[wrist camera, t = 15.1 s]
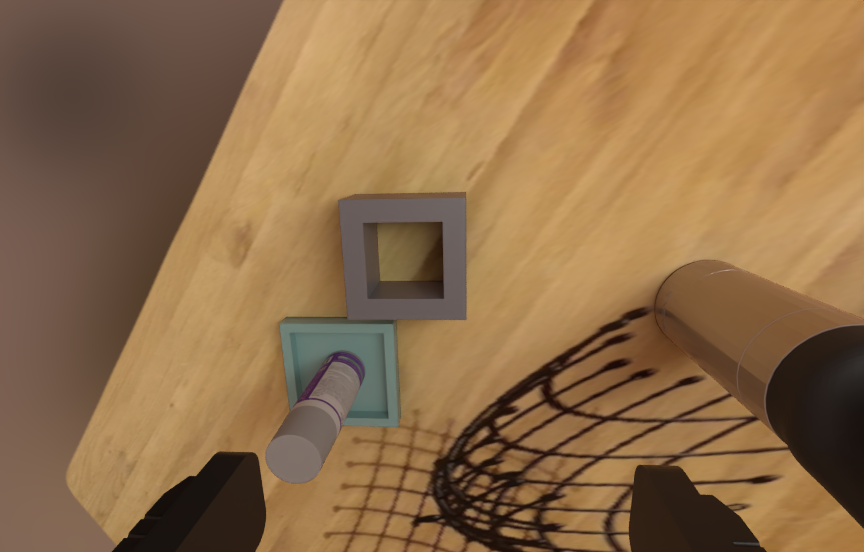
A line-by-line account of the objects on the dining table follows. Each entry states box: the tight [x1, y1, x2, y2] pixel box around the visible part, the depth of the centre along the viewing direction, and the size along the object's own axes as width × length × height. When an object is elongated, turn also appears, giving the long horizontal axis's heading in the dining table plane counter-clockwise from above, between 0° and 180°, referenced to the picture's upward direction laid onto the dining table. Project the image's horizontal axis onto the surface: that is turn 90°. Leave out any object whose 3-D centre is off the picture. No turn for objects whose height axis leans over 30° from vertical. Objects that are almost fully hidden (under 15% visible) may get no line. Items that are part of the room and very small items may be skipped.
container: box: [266, 350, 366, 484], centre depth 41 cm, size 5×5×15 cm
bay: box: [338, 192, 466, 320], centre depth 42 cm, size 11×11×6 cm
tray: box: [279, 317, 401, 427], centre depth 48 cm, size 12×12×2 cm
